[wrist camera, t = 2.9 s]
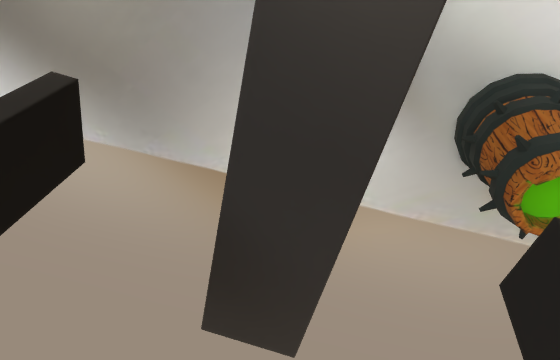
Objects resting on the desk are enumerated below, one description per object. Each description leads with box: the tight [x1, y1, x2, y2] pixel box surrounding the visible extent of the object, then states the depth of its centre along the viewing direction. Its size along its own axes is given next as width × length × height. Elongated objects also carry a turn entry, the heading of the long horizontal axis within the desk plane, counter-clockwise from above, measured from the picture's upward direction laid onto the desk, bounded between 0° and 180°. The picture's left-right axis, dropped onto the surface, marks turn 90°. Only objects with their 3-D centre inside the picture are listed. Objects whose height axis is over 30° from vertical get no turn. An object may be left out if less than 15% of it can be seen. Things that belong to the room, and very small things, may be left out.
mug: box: [454, 74, 560, 239], centre depth 29 cm, size 13×10×12 cm
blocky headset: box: [201, 0, 446, 358], centre depth 17 cm, size 6×17×14 cm, turn 168°
